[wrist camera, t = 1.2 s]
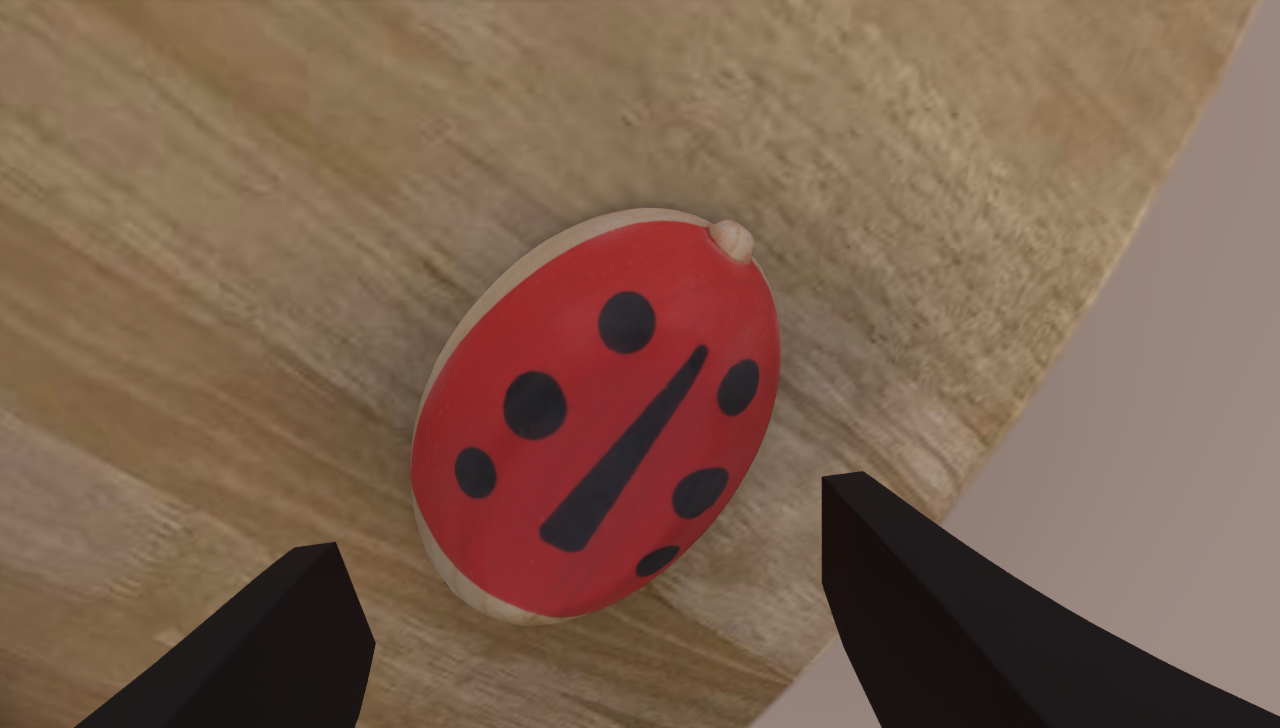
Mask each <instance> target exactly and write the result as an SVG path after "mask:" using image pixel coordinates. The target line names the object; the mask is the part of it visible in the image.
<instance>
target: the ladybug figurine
mask: <svg viewBox="0 0 1280 728" xmlns="http://www.w3.org/2000/svg"><path fill="white" fill-rule="evenodd" d="M753 246H754V240H753V237H752V235H751V233H750V232H749V231H748V230H746V229H745V228H744V227H743V226H741V225H740V224H738V223H737V222H735V221H732V220H722V221H720V222H718V223H716V224H713V223H711V222H710V221H708V220H705V219H703V218H701V217H698V216H696V215H693V214H689V213H686V212H682V211H678V210H672V209H666V208H635V209H628V210H622V211H617V212H613V213H609V214H605V215H601V216H598V217H595V218H592V219H589V220H587V221H584V222H581V223H579V224H577V225H574V226H572V227H570V228H568V229H566V230H564V231H562V232H560V233H558V234H556V235H555V236H553V237H551V238H549V239H548V240H546V241H544V242H543V243H541V244H540V245H538V246H537V247H535V248H534V249H532V250H531V251H530V252H528V253H527V254H526V255H524V256H523V257H522V258H521V259H519V260H518V261H517V262H515V263H514V264H513V265H512V266H511V267H510V268H508V269H507V270H506V271H505V272H504V273H503V274H502V275H501V276H500V277H499V278H498V279H497V280H496V281H495V282H494V283H493V284H492V285H491V286H490V287H489V288H488V289H487V290H486V291H485V292H484V293H483V294H482V296H481V297H480V298H479V299H478V300H477V301H476V303H475V304H474V305H473V306H472V307H471V309H470V310H469V311H468V312H467V314H466V315H465V316H464V317H463V319H462V320H461V322H460V323H459V324H458V326H457V327H456V329H455V330H454V332H453V333H452V335H451V336H450V338H449V340H448V341H447V343H446V344H445V346H444V348H443V349H442V351H441V353H440V355H439V357H438V358H437V360H436V362H435V364H434V367H433V369H432V371H431V374H430V376H429V379H428V381H427V384H426V387H425V390H424V392H423V395H422V398H421V402H420V405H419V409H418V413H417V416H416V421H415V425H414V430H413V437H412V447H411V460H410V480H411V494H412V502H413V509H414V513H415V518H416V522H417V526H418V530H419V533H420V536H421V539H422V542H423V545H424V547H425V550H426V552H427V554H428V556H429V558H430V560H431V562H432V564H433V566H434V567H435V569H436V570H437V572H438V573H439V575H440V576H441V578H442V579H443V580H444V582H445V584H446V585H447V586H448V587H449V589H450V590H451V591H452V592H453V593H454V594H455V595H456V596H457V597H459V598H460V599H461V600H462V601H464V602H465V603H466V604H467V605H469V606H470V607H471V608H473V609H474V610H476V611H477V612H479V613H481V614H483V615H485V616H488V617H490V618H493V619H495V620H499V621H502V622H505V623H510V624H515V625H522V626H542V625H550V624H557V623H561V622H565V621H569V620H572V619H575V618H579V617H582V616H585V615H587V614H589V613H592V612H594V611H597V610H599V609H602V608H604V607H607V606H609V605H611V604H613V603H615V602H617V601H619V600H621V599H623V598H625V597H626V596H628V595H630V594H631V593H633V592H635V591H636V590H638V589H640V588H641V587H642V586H644V585H645V584H647V583H648V582H649V581H651V580H652V579H653V578H655V577H656V576H657V575H659V574H660V573H661V572H663V571H664V570H665V569H666V568H667V567H669V566H670V565H671V564H672V563H673V562H674V561H675V560H677V559H678V558H679V557H680V556H681V555H682V554H683V553H684V552H685V551H686V550H687V549H688V548H689V547H690V546H691V545H692V544H693V543H694V542H696V541H697V540H698V539H699V538H700V537H701V536H702V535H703V533H704V532H705V531H706V530H707V529H708V528H709V527H710V525H711V524H712V523H713V521H714V520H715V519H716V518H717V517H718V515H719V514H720V513H721V512H722V510H723V509H724V507H725V506H726V505H727V503H728V502H729V501H730V499H731V497H732V496H733V494H734V493H735V491H736V490H737V488H738V486H739V485H740V483H741V482H742V480H743V478H744V476H745V475H746V473H747V471H748V469H749V468H750V466H751V464H752V462H753V460H754V458H755V456H756V454H757V452H758V449H759V447H760V445H761V443H762V440H763V438H764V436H765V433H766V430H767V427H768V424H769V421H770V417H771V414H772V410H773V407H774V403H775V398H776V393H777V388H778V382H779V374H780V363H781V334H780V324H779V318H778V312H777V307H776V303H775V300H774V297H773V293H772V290H771V287H770V284H769V282H768V280H767V277H766V275H765V273H764V271H763V269H762V268H761V266H760V265H759V263H758V262H757V260H756V259H755V258H754V257H753V256H752V255H751V254H752V250H753Z"/></svg>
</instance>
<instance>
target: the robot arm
mask: <svg viewBox="0 0 1280 728" xmlns="http://www.w3.org/2000/svg"><path fill="white" fill-rule="evenodd" d="M822 585H823V588H824V591H825V594H826V597H827V600H828V603H829V606H830V609H831V612H832V615H833V618H834V621H835V624H836V627H837V629H838V632H839V635H840V638H841V641H842V643H843V646H844V649H845V651H846V653H847V655H848V657H849V660H850V662H851V664H852V666H853V668H854V670H855V672H856V675H857V676H858V679H859V681H860V683H861V685H862V687H863V689H864V691H865V693H866V696H867V698H868V700H869V702H870V704H871V706H872V708H873V710H874V712H875V714H876V716H877V719H878V721H879V723H880V725H881V726H882V728H1280V716H1278V715H1275V714H1273V713H1271V712H1269V711H1266V710H1264V709H1262V708H1260V707H1258V706H1256V705H1254V704H1252V703H1250V702H1247V701H1245V700H1243V699H1241V698H1239V697H1237V696H1234V695H1232V694H1230V693H1228V692H1226V691H1224V690H1222V689H1219V688H1217V687H1215V686H1213V685H1211V684H1209V683H1206V682H1204V681H1202V680H1200V679H1198V678H1196V677H1194V676H1192V675H1190V674H1188V673H1186V672H1184V671H1182V670H1180V669H1178V668H1176V667H1174V666H1172V665H1170V664H1168V663H1166V662H1164V661H1162V660H1160V659H1158V658H1156V657H1154V656H1153V655H1150V654H1149V653H1147V652H1145V651H1143V650H1141V649H1139V648H1138V647H1136V646H1134V645H1132V644H1130V643H1128V642H1126V641H1124V640H1123V639H1121V638H1119V637H1117V636H1115V635H1113V634H1111V633H1109V632H1108V631H1106V630H1104V629H1102V628H1100V627H1098V626H1096V625H1095V624H1093V623H1091V622H1089V621H1087V620H1086V619H1084V618H1082V617H1080V616H1079V615H1077V614H1075V613H1073V612H1072V611H1070V610H1068V609H1067V608H1065V607H1063V606H1061V605H1060V604H1058V603H1056V602H1055V601H1053V600H1052V599H1050V598H1048V597H1047V596H1045V595H1043V594H1042V593H1040V592H1039V591H1037V590H1035V589H1034V588H1032V587H1030V586H1029V585H1027V584H1025V583H1024V582H1022V581H1021V580H1019V579H1017V578H1015V577H1014V576H1013V575H1011V574H1010V573H1008V572H1006V571H1005V570H1003V569H1002V568H1000V567H999V566H997V565H996V564H994V563H993V562H991V561H989V560H988V559H986V558H985V557H983V556H982V555H980V554H979V553H978V552H976V551H975V550H973V549H972V548H970V547H969V546H967V545H965V544H964V543H963V542H961V541H960V540H958V539H957V538H956V537H954V536H952V535H951V534H950V533H948V532H947V531H945V530H944V529H943V528H941V527H940V526H938V525H937V524H936V523H934V522H933V521H931V520H930V519H929V518H927V517H926V516H924V515H923V514H922V513H920V512H919V511H917V510H916V509H915V508H913V507H912V506H911V505H909V504H908V503H906V502H905V501H904V500H902V499H901V498H900V497H898V496H897V495H896V494H894V493H893V492H891V491H890V490H889V489H887V488H886V487H885V486H883V485H882V484H880V483H879V482H878V481H876V480H875V479H873V478H872V477H871V476H869V475H868V474H866V473H865V472H863V471H860V472H852V473H845V474H838V475H830V476H823V477H822ZM375 645H376V643H375V640H374V638H373V635H372V633H371V630H370V628H369V625H368V623H367V620H366V617H365V615H364V612H363V610H362V607H361V605H360V602H359V600H358V597H357V595H356V592H355V589H354V587H353V584H352V582H351V579H350V577H349V574H348V572H347V569H346V567H345V564H344V561H343V559H342V556H341V554H340V551H339V549H338V546H337V544H336V542H331V543H324V544H316V545H309V546H301V547H295V548H293V549H292V550H290V551H289V552H288V553H286V554H285V555H284V556H282V557H281V558H280V559H278V560H277V561H276V562H275V563H273V564H272V565H271V566H270V567H268V568H267V569H266V570H265V571H263V572H262V573H261V574H260V575H259V576H257V577H256V578H255V579H254V580H253V581H251V582H250V583H249V584H248V585H247V586H246V587H244V588H243V589H242V590H241V591H240V592H238V593H237V594H236V595H235V596H234V597H233V598H231V599H230V600H229V601H228V602H227V603H225V604H224V605H223V606H222V607H221V608H220V609H218V610H217V611H216V612H215V613H214V614H213V615H211V616H210V617H209V618H208V619H207V620H205V621H204V622H203V623H202V624H201V625H200V626H198V627H197V628H196V629H195V630H194V631H192V632H191V633H190V634H189V635H188V636H187V637H185V638H184V639H183V640H182V641H181V642H179V643H178V644H177V645H176V646H175V647H174V648H172V649H171V650H170V651H169V652H168V653H166V654H165V655H164V656H163V657H162V658H160V659H159V660H158V661H157V662H156V663H154V664H153V665H152V666H151V667H150V668H148V669H147V670H146V671H145V672H143V673H142V674H141V675H140V676H138V677H137V678H136V679H134V680H133V681H132V682H131V683H129V684H128V685H127V686H126V687H124V688H123V689H122V690H121V691H119V692H118V693H117V694H116V695H114V696H113V697H112V698H111V699H109V700H108V701H107V702H106V703H104V704H103V705H102V706H101V707H99V708H98V709H97V710H96V711H94V712H93V713H92V714H91V715H89V716H88V717H87V718H86V719H84V720H83V721H82V722H81V723H79V724H78V725H77V726H76V727H74V728H355V725H356V722H357V720H358V717H359V714H360V710H361V706H362V702H363V698H364V694H365V690H366V686H367V682H368V677H369V673H370V668H371V663H372V659H373V654H374V649H375Z"/></svg>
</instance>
